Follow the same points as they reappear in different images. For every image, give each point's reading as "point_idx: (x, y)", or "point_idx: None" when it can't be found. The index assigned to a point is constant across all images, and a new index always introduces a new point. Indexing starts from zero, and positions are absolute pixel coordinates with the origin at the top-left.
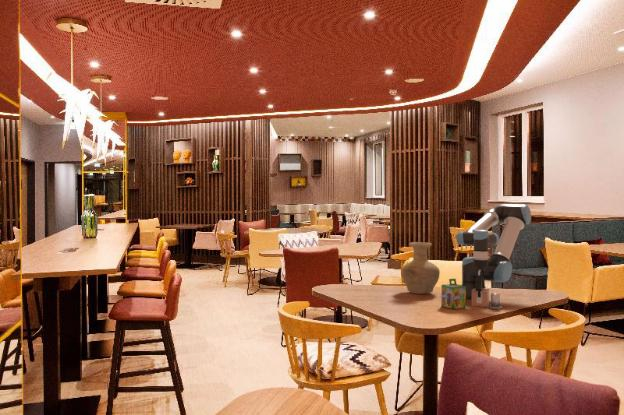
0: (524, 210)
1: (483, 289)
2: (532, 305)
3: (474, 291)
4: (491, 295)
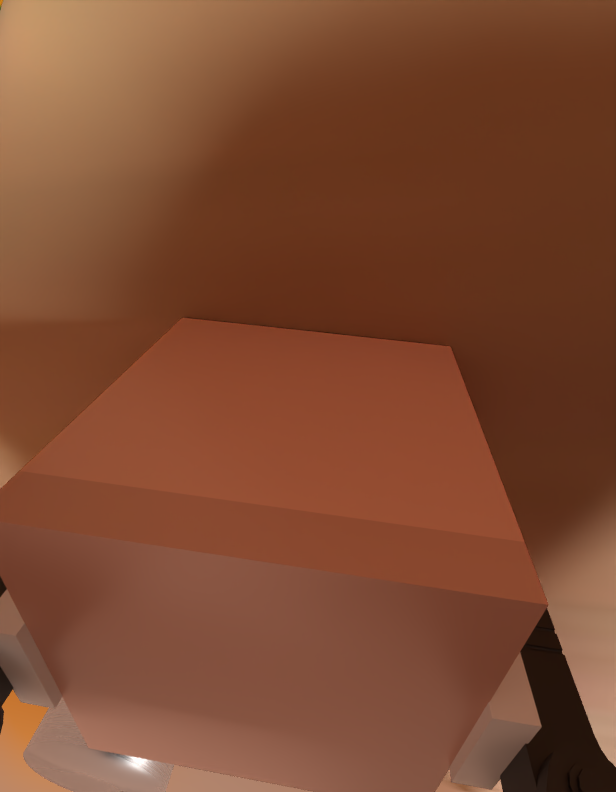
0: None
1: (364, 748)
2: (447, 773)
3: (19, 561)
4: (56, 709)
